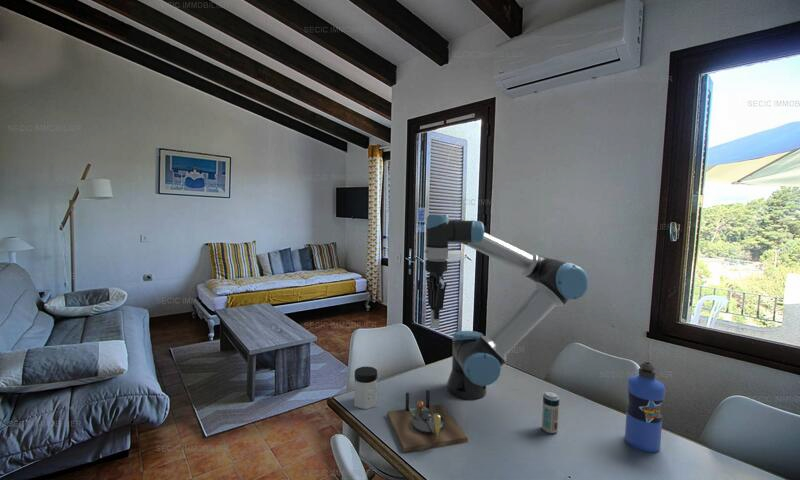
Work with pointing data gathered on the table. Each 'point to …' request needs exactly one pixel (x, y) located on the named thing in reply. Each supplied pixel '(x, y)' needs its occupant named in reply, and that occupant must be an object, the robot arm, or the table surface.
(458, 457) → the table surface
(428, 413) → the grey metal domed piece
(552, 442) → the table surface
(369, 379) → the jar
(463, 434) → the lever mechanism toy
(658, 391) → the water bottle
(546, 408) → the supplement bottle
